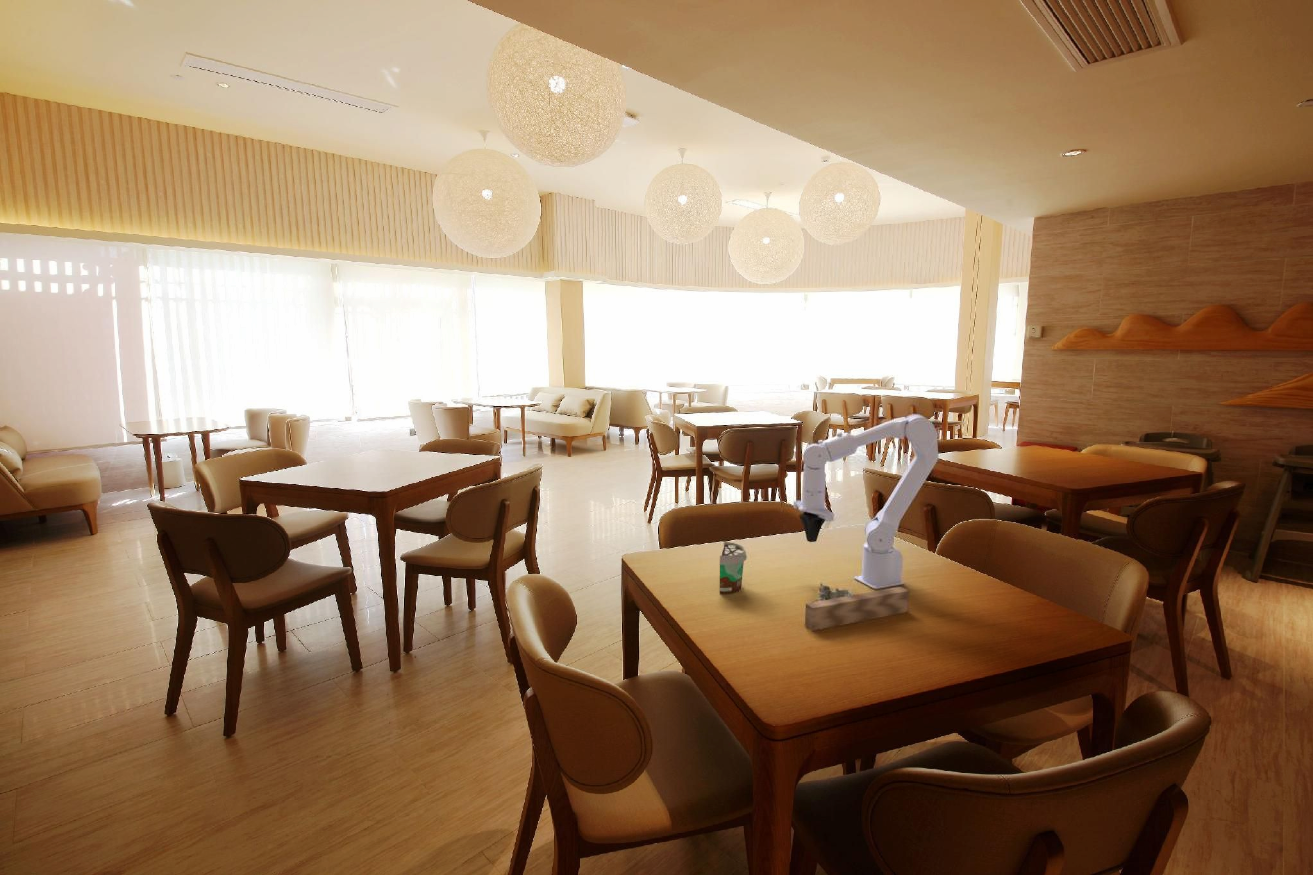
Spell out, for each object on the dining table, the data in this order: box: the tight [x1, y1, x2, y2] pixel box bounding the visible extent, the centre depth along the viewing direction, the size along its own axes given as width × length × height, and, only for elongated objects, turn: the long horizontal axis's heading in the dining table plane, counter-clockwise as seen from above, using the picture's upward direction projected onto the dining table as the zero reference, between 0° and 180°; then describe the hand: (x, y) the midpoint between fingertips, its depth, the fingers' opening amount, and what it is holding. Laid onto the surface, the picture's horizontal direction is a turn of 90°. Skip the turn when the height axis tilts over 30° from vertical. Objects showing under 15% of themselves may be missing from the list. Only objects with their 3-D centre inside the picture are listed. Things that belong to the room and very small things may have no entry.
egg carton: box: [818, 582, 854, 601], centre depth 136 cm, size 11×8×4 cm
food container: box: [719, 541, 748, 595], centre depth 147 cm, size 12×6×10 cm, turn 168°
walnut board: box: [804, 586, 910, 632], centre depth 130 cm, size 26×2×5 cm, turn 111°
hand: (811, 541), depth 154 cm, fingers closed
